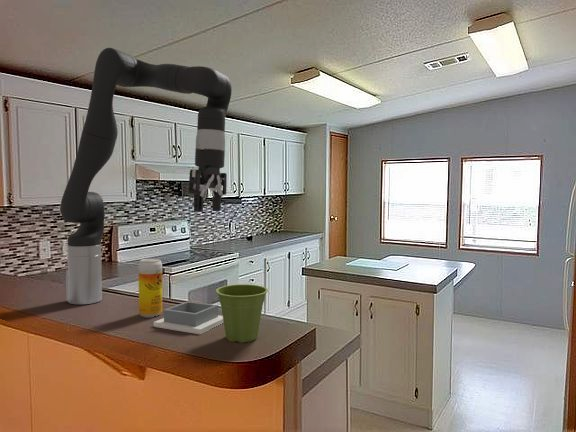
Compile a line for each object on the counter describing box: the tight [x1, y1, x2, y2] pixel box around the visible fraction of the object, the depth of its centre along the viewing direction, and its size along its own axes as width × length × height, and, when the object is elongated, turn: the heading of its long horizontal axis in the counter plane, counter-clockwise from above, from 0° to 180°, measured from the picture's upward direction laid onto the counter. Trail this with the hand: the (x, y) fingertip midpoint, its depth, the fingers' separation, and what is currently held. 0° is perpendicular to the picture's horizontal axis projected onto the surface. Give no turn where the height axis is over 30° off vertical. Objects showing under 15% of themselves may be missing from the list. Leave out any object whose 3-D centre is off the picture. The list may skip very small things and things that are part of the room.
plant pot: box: [215, 283, 269, 343], centre depth 101 cm, size 12×12×11 cm
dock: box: [153, 300, 224, 335], centre depth 111 cm, size 14×12×4 cm
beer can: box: [138, 258, 163, 318], centre depth 119 cm, size 6×6×15 cm
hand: (207, 211), depth 115 cm, fingers open, 8 cm apart
